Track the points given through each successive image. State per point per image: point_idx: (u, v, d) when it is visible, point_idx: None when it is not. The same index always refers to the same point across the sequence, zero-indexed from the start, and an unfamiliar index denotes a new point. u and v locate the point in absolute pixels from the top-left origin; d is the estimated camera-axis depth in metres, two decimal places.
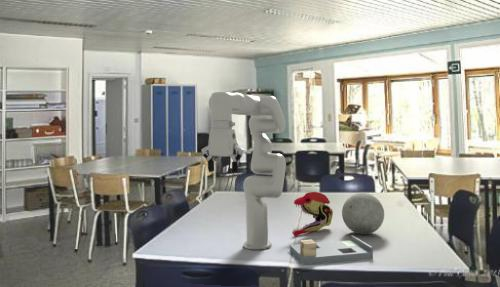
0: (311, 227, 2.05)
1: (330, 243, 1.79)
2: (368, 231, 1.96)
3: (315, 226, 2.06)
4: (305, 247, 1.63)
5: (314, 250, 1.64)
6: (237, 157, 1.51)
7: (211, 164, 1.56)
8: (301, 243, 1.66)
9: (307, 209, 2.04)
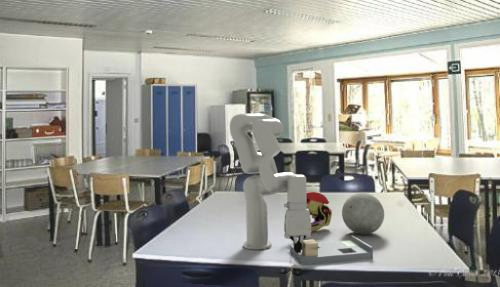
0: None
1: (330, 243, 1.79)
2: (368, 231, 1.96)
3: (314, 226, 2.06)
4: (307, 247, 1.63)
5: (316, 250, 1.64)
6: None
7: None
8: (303, 243, 1.66)
9: None
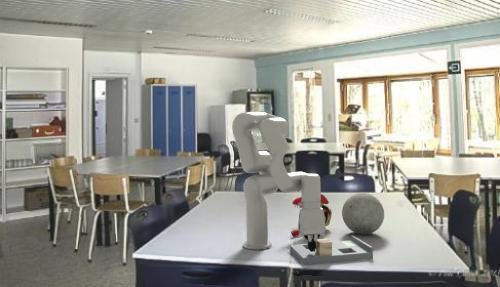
0: None
1: None
2: (368, 231, 1.96)
3: None
4: (321, 246, 1.64)
5: (330, 249, 1.64)
6: None
7: None
8: (317, 242, 1.67)
9: None
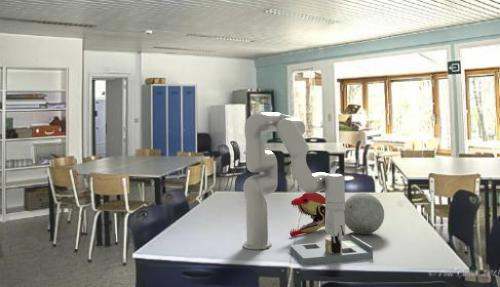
0: (308, 228, 2.04)
1: None
2: (368, 231, 1.96)
3: (312, 227, 2.05)
4: None
5: None
6: None
7: None
8: (326, 241, 1.68)
9: (304, 210, 2.02)
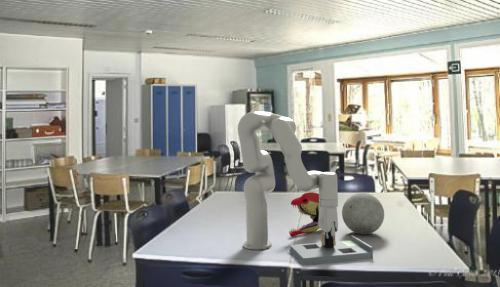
0: (308, 228, 2.04)
1: None
2: (368, 231, 1.96)
3: (312, 227, 2.05)
4: None
5: None
6: None
7: None
8: (321, 235, 1.76)
9: (304, 210, 2.02)
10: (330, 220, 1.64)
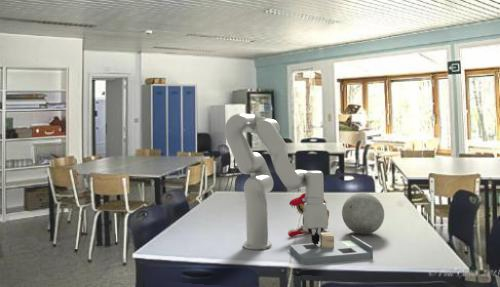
0: None
1: None
2: (368, 231, 1.96)
3: None
4: (323, 239, 1.74)
5: (332, 242, 1.74)
6: None
7: None
8: (320, 235, 1.77)
9: None
10: None
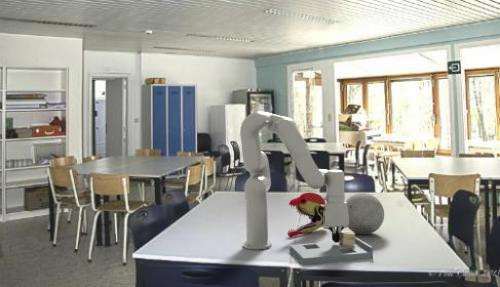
0: (307, 228, 2.03)
1: (330, 243, 1.79)
2: (368, 231, 1.96)
3: (311, 227, 2.04)
4: (345, 237, 1.75)
5: (353, 240, 1.76)
6: None
7: None
8: (340, 233, 1.79)
9: (302, 210, 2.02)
10: None
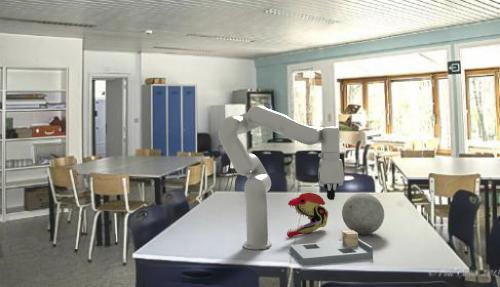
0: (306, 228, 2.03)
1: (330, 243, 1.79)
2: (368, 231, 1.96)
3: (310, 227, 2.04)
4: (348, 237, 1.76)
5: (356, 240, 1.76)
6: None
7: None
8: (343, 233, 1.79)
9: (302, 210, 2.01)
10: None
